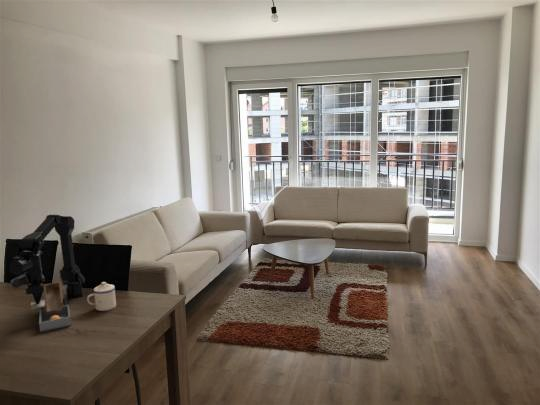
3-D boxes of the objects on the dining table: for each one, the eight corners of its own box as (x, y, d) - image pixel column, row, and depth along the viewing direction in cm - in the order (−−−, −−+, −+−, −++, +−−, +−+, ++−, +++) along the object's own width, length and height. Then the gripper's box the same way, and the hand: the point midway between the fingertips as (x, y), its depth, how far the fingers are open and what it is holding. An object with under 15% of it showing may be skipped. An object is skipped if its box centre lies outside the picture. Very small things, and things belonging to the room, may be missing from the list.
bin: (69, 313, 186) (68, 304, 185) (71, 325, 173) (70, 316, 173) (40, 318, 181) (39, 310, 180) (40, 332, 168) (39, 323, 168)
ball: (60, 313, 176) (60, 315, 172) (61, 322, 176) (61, 325, 172) (49, 315, 174) (49, 317, 170) (50, 325, 174) (50, 327, 171)
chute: (63, 292, 196) (62, 281, 194) (65, 313, 181) (64, 302, 179) (32, 297, 190) (31, 286, 188) (32, 320, 176) (30, 308, 174)
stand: (68, 307, 192) (67, 292, 191) (69, 311, 187) (67, 296, 186) (41, 312, 187) (39, 297, 186) (41, 317, 182) (39, 301, 181)
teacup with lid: (115, 301, 197) (112, 277, 195) (118, 308, 189) (115, 283, 187) (87, 307, 192) (84, 282, 190) (89, 314, 184) (86, 288, 182)
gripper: (12, 265, 179) (17, 300, 182) (8, 276, 163) (13, 315, 165) (42, 261, 184) (46, 295, 187) (41, 271, 168) (45, 309, 170)
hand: (37, 303), depth 177 cm, fingers closed
